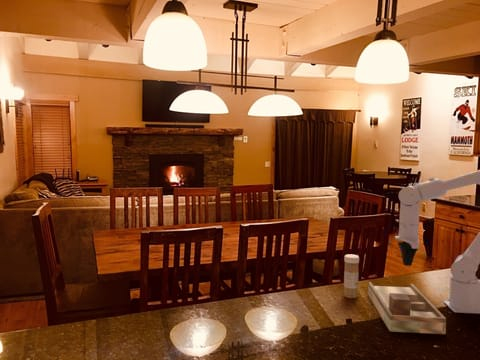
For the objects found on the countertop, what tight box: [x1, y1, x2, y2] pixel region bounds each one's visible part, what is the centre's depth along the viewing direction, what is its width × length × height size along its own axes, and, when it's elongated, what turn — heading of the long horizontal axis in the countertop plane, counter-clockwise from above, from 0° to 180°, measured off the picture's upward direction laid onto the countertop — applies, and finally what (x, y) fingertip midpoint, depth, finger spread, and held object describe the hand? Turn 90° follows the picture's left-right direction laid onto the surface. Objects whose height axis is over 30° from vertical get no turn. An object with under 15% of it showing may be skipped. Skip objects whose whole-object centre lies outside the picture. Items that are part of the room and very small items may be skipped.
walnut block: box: [389, 293, 411, 316], centre depth 108 cm, size 4×4×4 cm
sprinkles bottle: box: [343, 253, 360, 299], centre depth 127 cm, size 5×5×13 cm
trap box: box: [367, 281, 447, 335], centre depth 116 cm, size 14×26×4 cm, turn 174°
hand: (407, 265), depth 127 cm, fingers closed
